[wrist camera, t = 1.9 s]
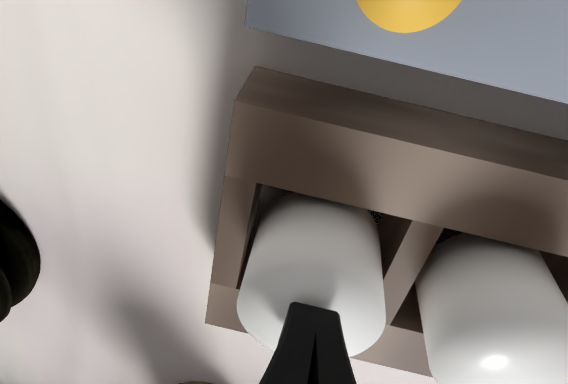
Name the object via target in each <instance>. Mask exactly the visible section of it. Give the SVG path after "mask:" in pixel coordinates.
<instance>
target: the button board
mask: <svg viewBox="0 0 568 384" xmlns="http://www.w3.org/2000/svg"><path fill="white" fill-rule="evenodd" d="M262 184H264V185H268V186H272V187H276V188H281V189H285V190H289V191H293V192H297V193H301V194H306V195H310V196H314V197H318V198H322V199H327V200H331V201H335V202H339V203H343V204H348V205H352V206H356V207H360V208H364V209H369V210H373V211H377V212H381V213H384V215H383V217H382V220H381V222H380V224H379V226H378V232H379V240H380V251H381V263H382V275H383V287H384V298H385V310H386V323H385V328H384V330H383V332H382V334H381V336H380V337H379V339H378V340H377V341H376V342H375V343H374V344H373V345H372V346H371V347H369V348H368V349H366V350H365V351H363V352H361V353H359V354H357V355H355V356H352V357H350V358H354V359H358V360H362V361H366V362H371V363H375V364H379V365H383V366H387V367H392V368H396V369H400V370H404V371H408V372H413V373H417V374H421V375H425V376H429V377H433V376H432V374H431V371H430V369H429V363H428V357H427V351H426V345H425V339H424V333H423V327H422V321H421V315H420V310H419V304H418V298H417V292H416V286H415V279H416V277H417V275H418V274H419V272H420V270H421V268H422V266H423V265H424V263H425V261H426V259H427V257H428V256H429V254H430V252H431V250H432V248H433V247H434V245H435V243H436V241H437V239H438V238H439V236H440V234H441V232H442V230H443V229H444V228H448V229H452V230H457V231H461V232H465V233H469V234H473V235H477V236H482V237H486V238H490V239H494V240H498V241H503V242H507V243H511V244H515V245H519V246H524V247H528V248H532V249H536V250H538V251H539V252H540V254H541V256H542V257H543V259H544V261H545V263H546V265H547V267H548V268H549V270H550V272H551V274H552V276H553V278H554V280H555V281H556V283H557V285H558V287H559V289H560V291H561V292H562V294H563V296H564V298H565V300H566V302H567V303H568V141H564V140H560V139H556V138H552V137H548V136H544V135H539V134H535V133H531V132H527V131H523V130H518V129H514V128H510V127H506V126H502V125H498V124H493V123H489V122H485V121H481V120H477V119H472V118H468V117H464V116H460V115H456V114H452V113H447V112H443V111H439V110H435V109H431V108H427V107H422V106H418V105H414V104H410V103H406V102H401V101H397V100H393V99H389V98H385V97H381V96H376V95H372V94H368V93H364V92H360V91H355V90H351V89H347V88H343V87H339V86H335V85H330V84H326V83H322V82H318V81H314V80H309V79H305V78H301V77H297V76H293V75H289V74H284V73H280V72H276V71H272V70H268V69H264V68H259V67H254V69H253V71H252V72H251V74H250V76H249V77H248V79H247V81H246V82H245V84H244V86H243V87H242V89H241V91H240V92H239V94H238V96H237V97H236V99H235V101H234V108H233V115H232V123H231V130H230V138H229V145H228V153H227V160H226V168H225V176H224V183H223V191H222V198H221V206H220V213H219V221H218V228H217V236H216V244H215V251H214V259H213V266H212V274H211V281H210V289H209V296H208V304H207V312H206V319H205V323H206V324H211V325H215V326H219V327H223V328H227V329H232V330H236V331H240V332H244V333H248V332H247V331H246V330H245V328H244V327H243V325H242V323H241V321H240V319H239V316H238V313H237V298H238V295H239V291H240V288H241V284H242V281H243V277H244V274H245V270H246V267H247V264H248V260H249V257H250V253H251V250H252V246H253V243H254V239H255V238H252V232H253V227H254V222H255V217H256V212H257V207H258V202H259V197H260V192H261V187H262Z"/></svg>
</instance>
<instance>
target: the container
mask: <svg viewBox="0 0 568 384" xmlns="http://www.w3.org/2000/svg"><path fill="white" fill-rule="evenodd" d="M39 273H40V255H39V252H38V249H37V246H36V243H35V241H34V239H33V238H32V236H31V234H30V232H29V231H28V229H27V228H26V226H25V225H24V224H23V222H22V221H21V220H20V219H19V218H18V216H17V215H16V214H15V213H14V212H13V211H12V210H11V209H10V208H8V206H6V205H5V204H4V203H3V202H2V201H1V200H0V322H1V321H2V320H3V319H5V317H6V316H7V315H8V314H9V312H10V309H11V307H13V306H15V305H16V304H18V303H19V302H21V301H22V300H23V299H24V298H26V297H27V296H28V295H29V293H30V292H31V291H32V289H33V288H34V286H35V284H36V281H37V279H38V276H39Z"/></svg>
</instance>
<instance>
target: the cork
mask: <svg viewBox="0 0 568 384" xmlns="http://www.w3.org/2000/svg"><path fill="white" fill-rule="evenodd" d="M180 384H210V383H203V382H187V383H180Z"/></svg>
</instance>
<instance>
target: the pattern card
mask: <svg viewBox="0 0 568 384" xmlns="http://www.w3.org/2000/svg"><path fill="white" fill-rule="evenodd" d="M244 26H245V27H249V28H253V29H257V30H261V31H266V32H270V33H274V34H278V35H282V36H286V37H291V38H295V39H299V40H303V41H307V42H312V43H316V44H320V45H324V46H328V47H332V48H337V49H341V50H345V51H349V52H353V53H357V54H362V55H366V56H370V57H374V58H378V59H382V60H387V61H391V62H395V63H399V64H403V65H408V66H412V67H416V68H420V69H424V70H428V71H433V72H437V73H441V74H445V75H449V76H453V77H458V78H462V79H466V80H470V81H474V82H479V83H483V84H487V85H491V86H495V87H499V88H504V89H508V90H512V91H516V92H520V93H524V94H529V95H533V96H537V97H541V98H545V99H549V100H554V101H558V102H562V103H566V104H568V0H248V2H247V9H246V17H245V24H244Z"/></svg>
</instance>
